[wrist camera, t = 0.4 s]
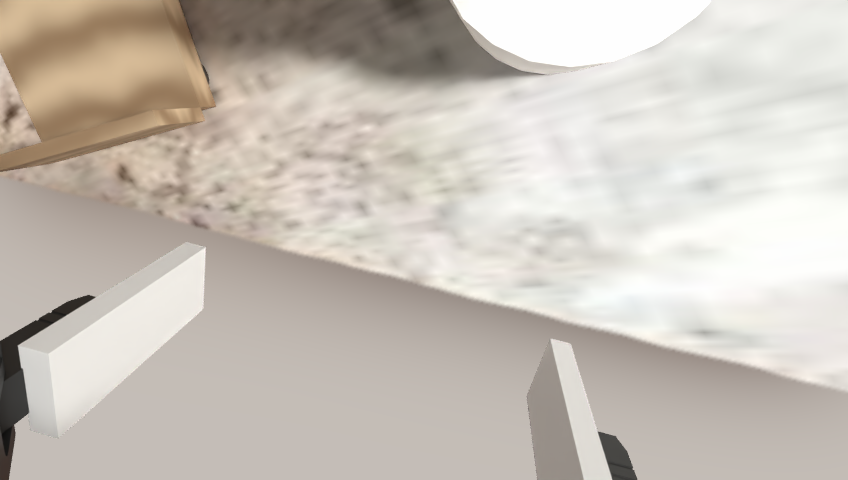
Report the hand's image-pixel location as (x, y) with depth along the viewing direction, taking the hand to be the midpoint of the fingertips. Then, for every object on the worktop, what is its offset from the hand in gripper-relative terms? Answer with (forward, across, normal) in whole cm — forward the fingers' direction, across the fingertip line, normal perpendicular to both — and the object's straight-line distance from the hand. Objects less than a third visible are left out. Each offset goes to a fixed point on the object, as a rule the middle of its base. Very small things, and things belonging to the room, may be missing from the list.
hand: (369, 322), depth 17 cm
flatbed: (+29, -33, +3) cm, 45 cm away
